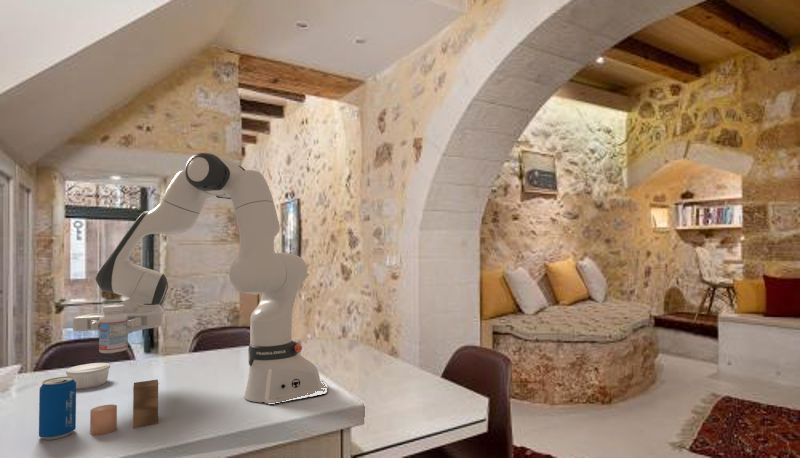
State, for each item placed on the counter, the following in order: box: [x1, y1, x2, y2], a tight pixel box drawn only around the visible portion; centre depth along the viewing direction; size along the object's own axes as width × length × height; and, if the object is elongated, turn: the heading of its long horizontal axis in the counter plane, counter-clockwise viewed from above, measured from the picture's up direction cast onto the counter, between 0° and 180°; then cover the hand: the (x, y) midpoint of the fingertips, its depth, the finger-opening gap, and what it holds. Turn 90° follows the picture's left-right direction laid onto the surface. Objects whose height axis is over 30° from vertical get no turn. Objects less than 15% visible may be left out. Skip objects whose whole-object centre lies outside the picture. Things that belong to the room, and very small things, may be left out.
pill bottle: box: [98, 304, 129, 354], centre depth 113 cm, size 6×6×11 cm
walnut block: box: [132, 379, 159, 429], centre depth 106 cm, size 5×5×9 cm
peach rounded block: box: [89, 403, 118, 436], centre depth 102 cm, size 5×5×5 cm
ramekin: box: [65, 362, 111, 390], centre depth 138 cm, size 11×11×5 cm
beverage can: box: [38, 375, 77, 441], centre depth 100 cm, size 6×6×12 cm
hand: (112, 325), depth 113 cm, fingers closed on pill bottle, 6 cm apart
